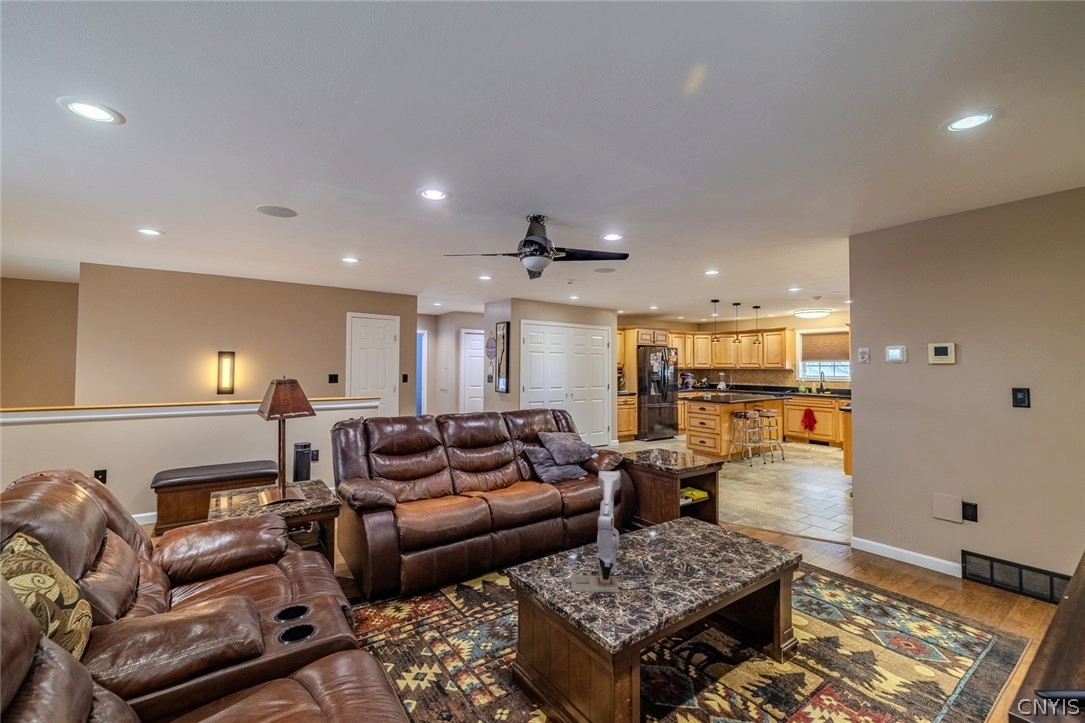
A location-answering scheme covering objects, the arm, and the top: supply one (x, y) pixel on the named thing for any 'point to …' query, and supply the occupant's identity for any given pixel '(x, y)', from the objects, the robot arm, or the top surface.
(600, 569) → the peg
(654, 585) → the top surface
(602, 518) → the robot arm
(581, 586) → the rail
